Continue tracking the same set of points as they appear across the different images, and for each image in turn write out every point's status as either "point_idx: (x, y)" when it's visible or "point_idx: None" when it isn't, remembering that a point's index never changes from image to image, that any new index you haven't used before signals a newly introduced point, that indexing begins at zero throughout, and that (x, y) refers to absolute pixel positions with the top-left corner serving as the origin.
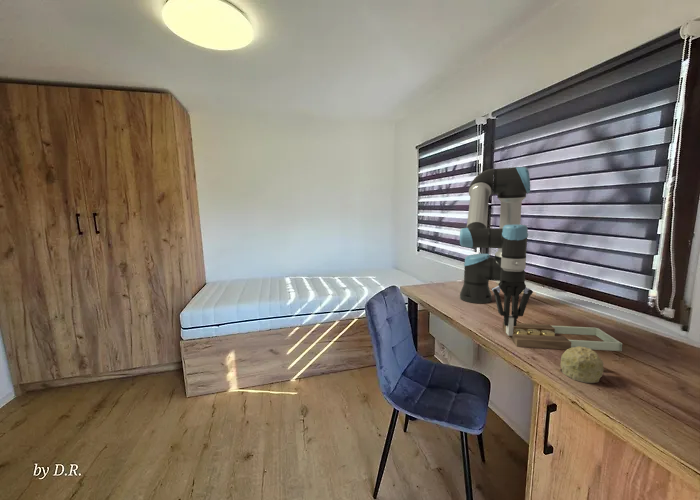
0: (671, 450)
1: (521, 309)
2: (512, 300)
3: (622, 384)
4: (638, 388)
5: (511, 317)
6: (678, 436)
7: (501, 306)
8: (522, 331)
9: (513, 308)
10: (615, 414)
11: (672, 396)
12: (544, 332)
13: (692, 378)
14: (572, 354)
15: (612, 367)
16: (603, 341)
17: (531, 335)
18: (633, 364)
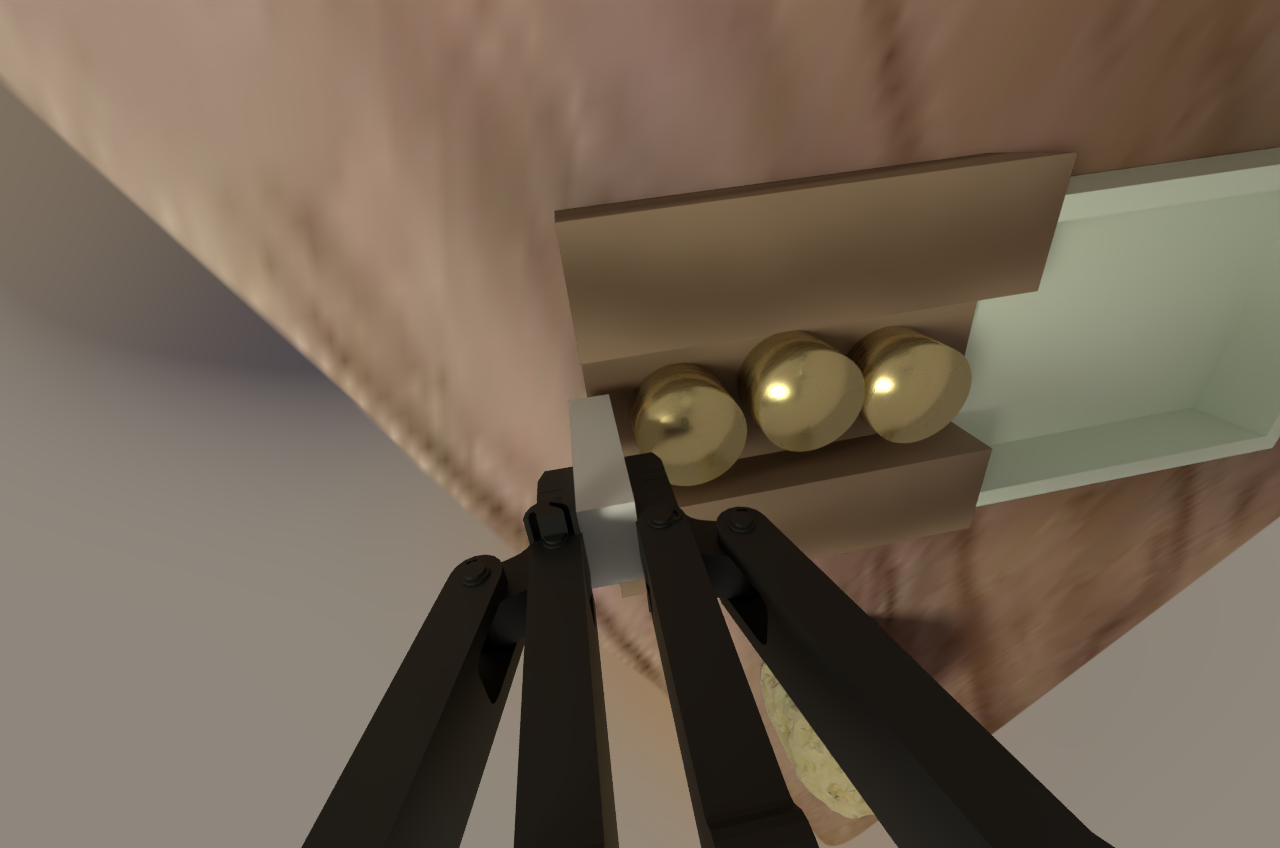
0: (826, 840)
1: (768, 661)
2: (689, 750)
3: (932, 670)
4: (964, 674)
5: (621, 564)
6: None
7: (472, 765)
8: (708, 443)
9: (664, 664)
10: (793, 796)
11: (1027, 679)
12: (890, 407)
13: (1226, 553)
14: (827, 798)
15: (1005, 568)
16: (1187, 452)
17: (753, 503)
18: (1126, 512)
